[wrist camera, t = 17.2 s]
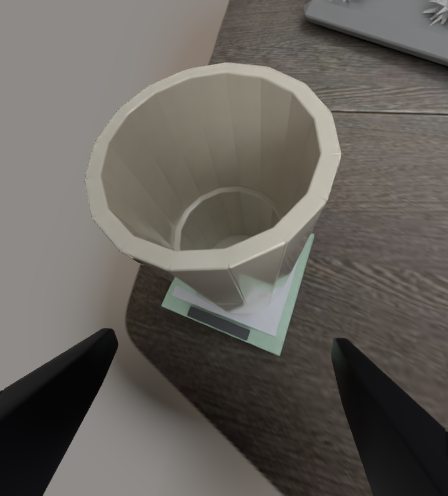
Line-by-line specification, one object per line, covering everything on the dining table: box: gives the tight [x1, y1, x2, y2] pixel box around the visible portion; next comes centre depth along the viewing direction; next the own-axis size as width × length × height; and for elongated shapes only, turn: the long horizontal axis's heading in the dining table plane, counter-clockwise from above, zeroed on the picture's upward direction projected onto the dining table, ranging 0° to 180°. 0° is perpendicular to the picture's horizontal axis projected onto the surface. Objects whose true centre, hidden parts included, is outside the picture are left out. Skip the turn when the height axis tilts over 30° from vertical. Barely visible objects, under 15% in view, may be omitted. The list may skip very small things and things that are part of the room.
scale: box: [161, 234, 314, 356], centre depth 20 cm, size 10×10×3 cm
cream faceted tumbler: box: [85, 63, 341, 314], centre depth 12 cm, size 7×7×13 cm
